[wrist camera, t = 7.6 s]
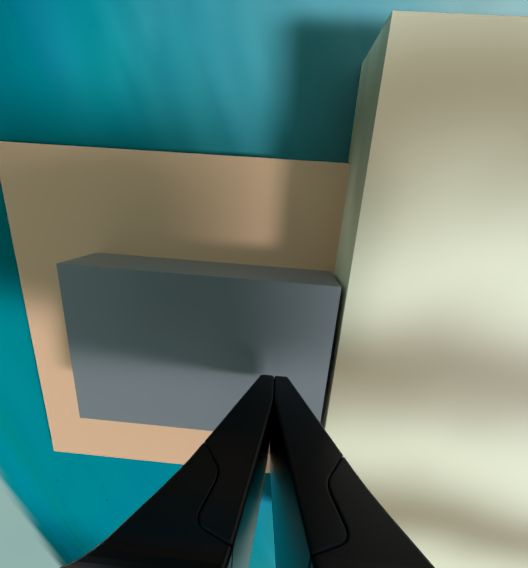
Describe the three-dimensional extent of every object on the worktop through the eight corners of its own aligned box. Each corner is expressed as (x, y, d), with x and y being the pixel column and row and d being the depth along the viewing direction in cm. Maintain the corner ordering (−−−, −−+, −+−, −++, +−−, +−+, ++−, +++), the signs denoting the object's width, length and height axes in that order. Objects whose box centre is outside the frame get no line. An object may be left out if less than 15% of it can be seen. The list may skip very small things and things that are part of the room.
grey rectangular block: (311, 403, 12) (317, 441, 10) (110, 384, 12) (79, 417, 10) (330, 271, 10) (341, 286, 8) (96, 252, 11) (56, 263, 9)
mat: (304, 469, 14) (304, 476, 13) (60, 444, 14) (54, 450, 14) (347, 164, 10) (350, 163, 9) (3, 142, 10) (-8, 140, 10)
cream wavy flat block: (572, 542, 14) (633, 612, 12) (298, 512, 14) (301, 573, 12) (831, 86, 8) (1056, 39, 6) (361, 63, 9) (393, 10, 6)
